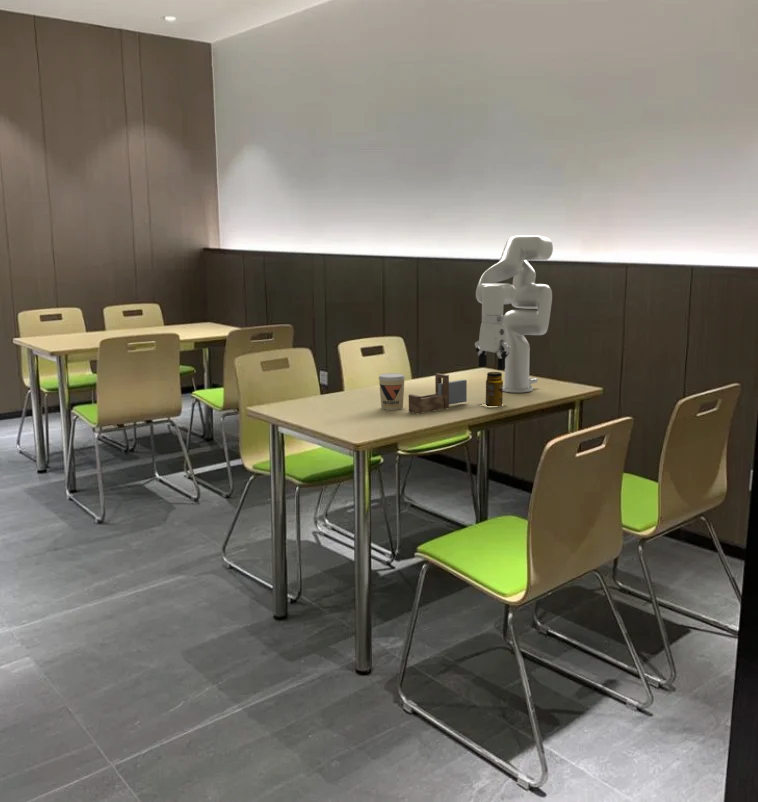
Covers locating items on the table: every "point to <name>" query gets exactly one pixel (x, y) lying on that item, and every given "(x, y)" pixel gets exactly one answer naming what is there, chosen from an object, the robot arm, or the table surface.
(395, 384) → the coffee cup
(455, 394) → the gate
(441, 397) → the brown l-shaped block
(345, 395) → the table surface
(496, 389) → the condiment
